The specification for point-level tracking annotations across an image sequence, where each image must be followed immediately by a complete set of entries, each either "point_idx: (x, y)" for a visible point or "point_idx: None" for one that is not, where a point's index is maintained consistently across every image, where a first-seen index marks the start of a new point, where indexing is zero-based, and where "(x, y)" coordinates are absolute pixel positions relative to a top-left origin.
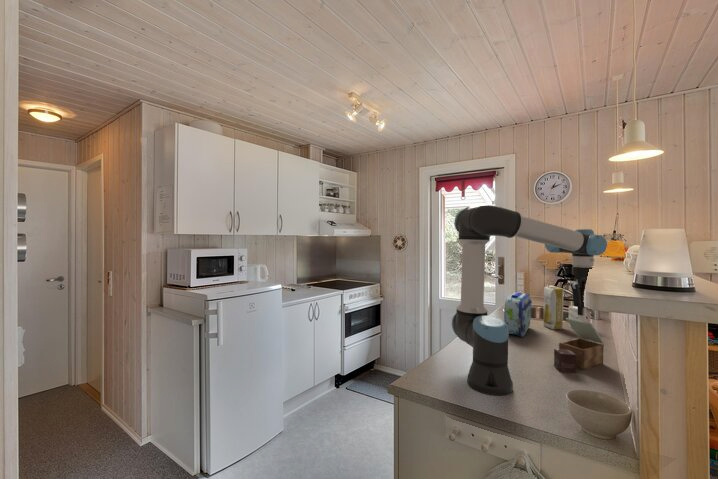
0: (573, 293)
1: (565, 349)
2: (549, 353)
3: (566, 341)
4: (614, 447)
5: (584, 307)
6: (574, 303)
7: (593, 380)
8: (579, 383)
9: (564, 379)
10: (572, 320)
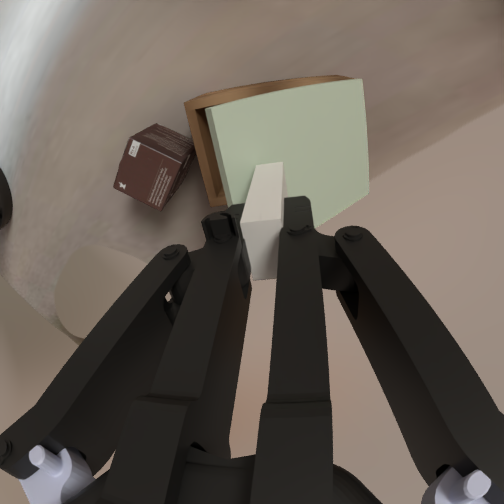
0: (76, 366)
1: (164, 158)
2: (244, 18)
3: (236, 96)
4: (77, 340)
5: (276, 268)
6: (152, 268)
7: (190, 231)
8: (140, 231)
9: (120, 205)
10: (219, 156)
